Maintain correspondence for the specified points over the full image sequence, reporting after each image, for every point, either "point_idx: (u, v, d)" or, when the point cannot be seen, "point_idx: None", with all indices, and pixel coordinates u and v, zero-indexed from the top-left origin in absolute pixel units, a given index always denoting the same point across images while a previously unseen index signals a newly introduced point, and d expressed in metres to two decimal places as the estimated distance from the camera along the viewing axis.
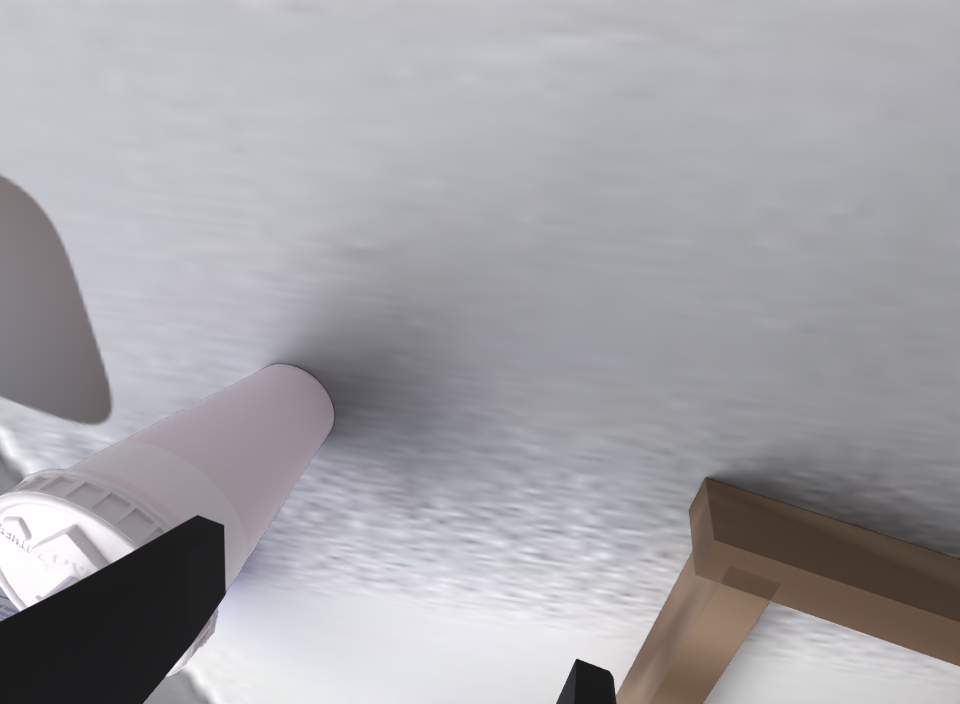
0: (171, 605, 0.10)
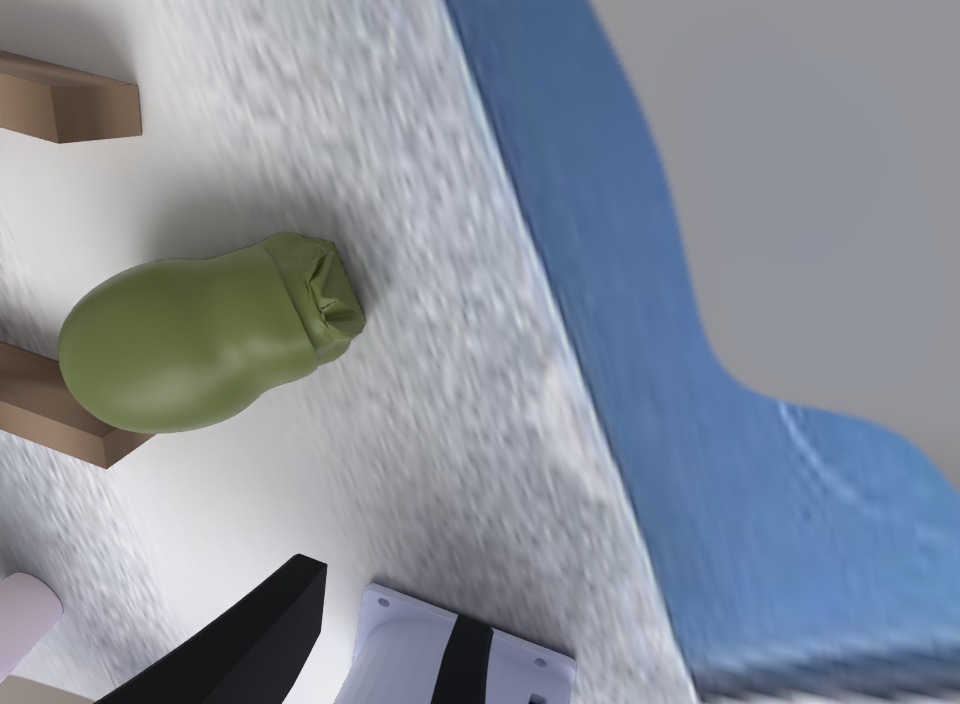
0: (282, 650, 0.10)
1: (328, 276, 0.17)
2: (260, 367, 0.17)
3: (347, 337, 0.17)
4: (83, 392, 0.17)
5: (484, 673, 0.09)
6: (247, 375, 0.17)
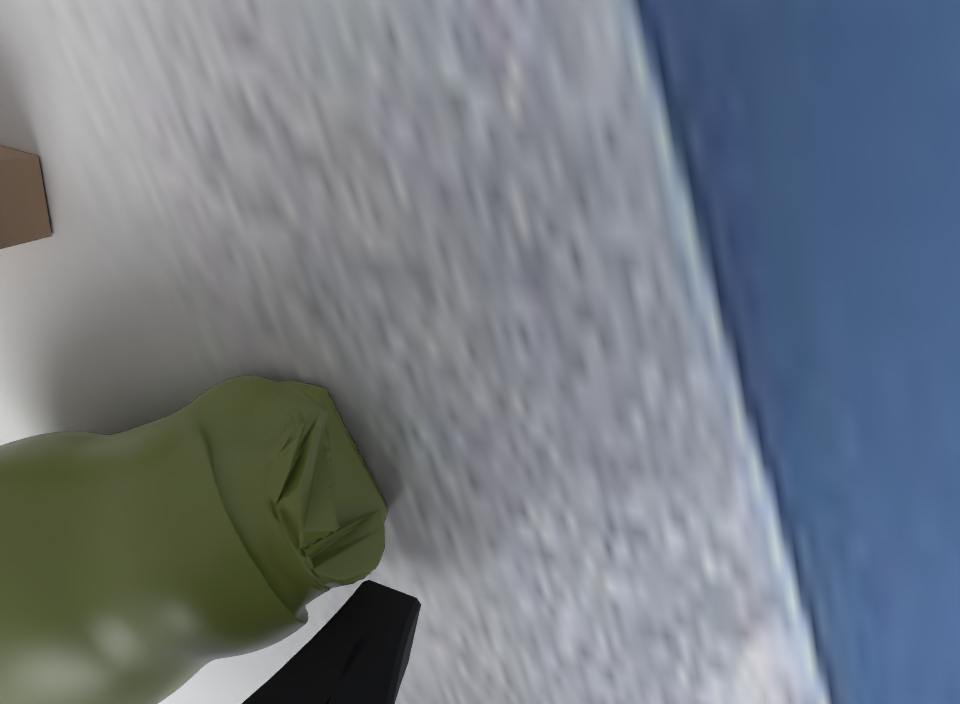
0: None
1: (316, 473, 0.09)
2: (195, 655, 0.09)
3: (357, 580, 0.09)
4: None
5: (403, 641, 0.09)
6: (173, 664, 0.09)
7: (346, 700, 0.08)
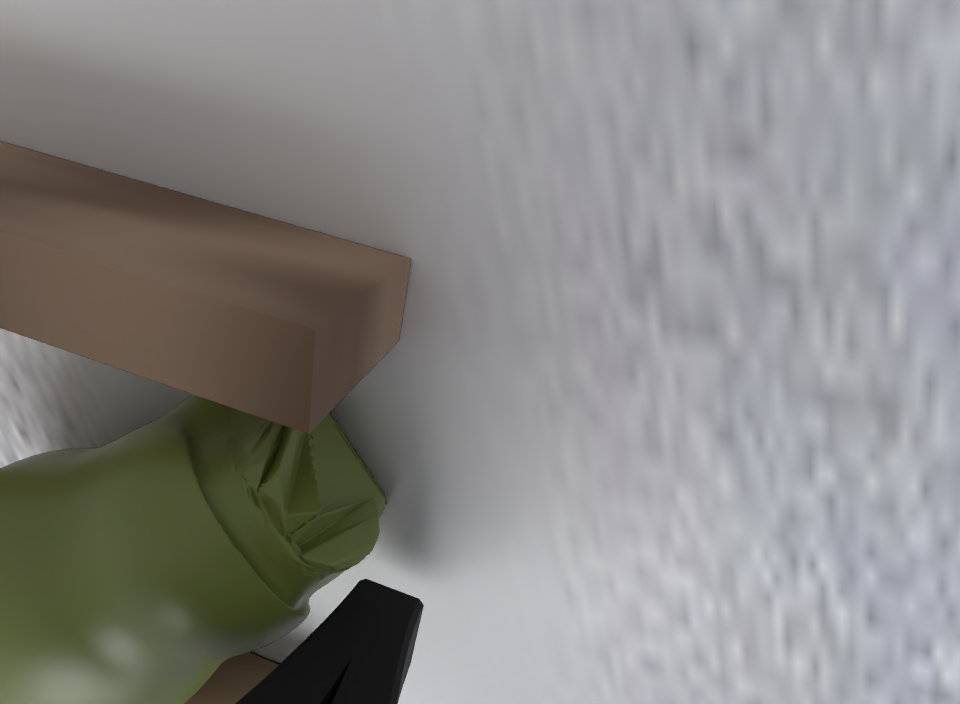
0: None
1: (298, 460, 0.09)
2: (195, 655, 0.09)
3: (350, 566, 0.09)
4: None
5: (406, 642, 0.09)
6: (176, 667, 0.09)
7: (349, 701, 0.08)
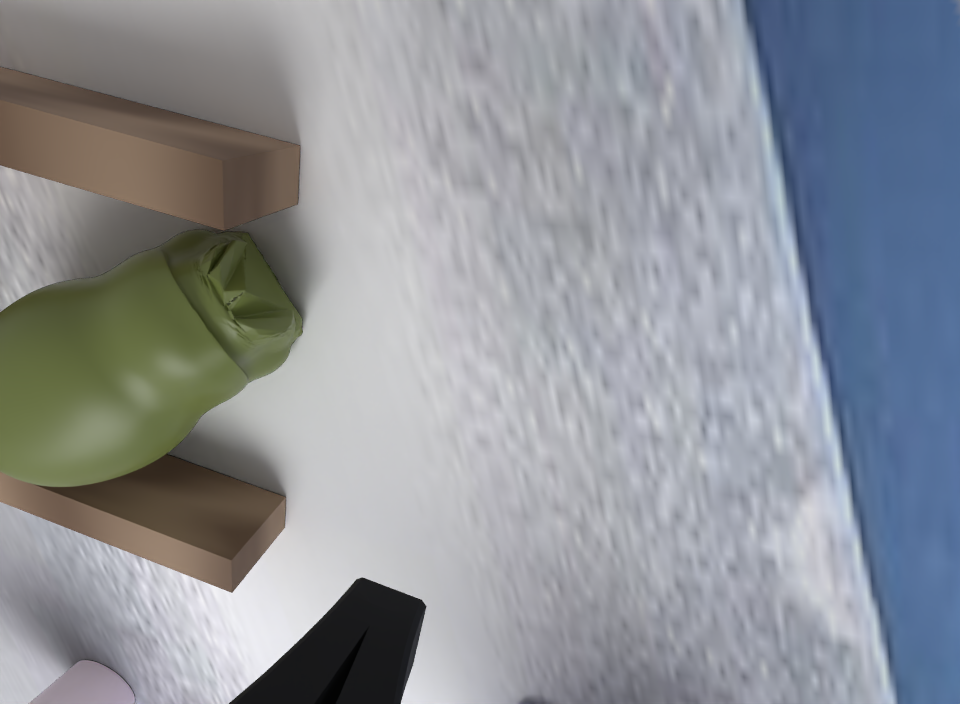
0: None
1: (235, 267, 0.14)
2: (170, 387, 0.14)
3: (269, 336, 0.14)
4: None
5: (409, 643, 0.09)
6: (159, 400, 0.14)
7: (353, 703, 0.08)
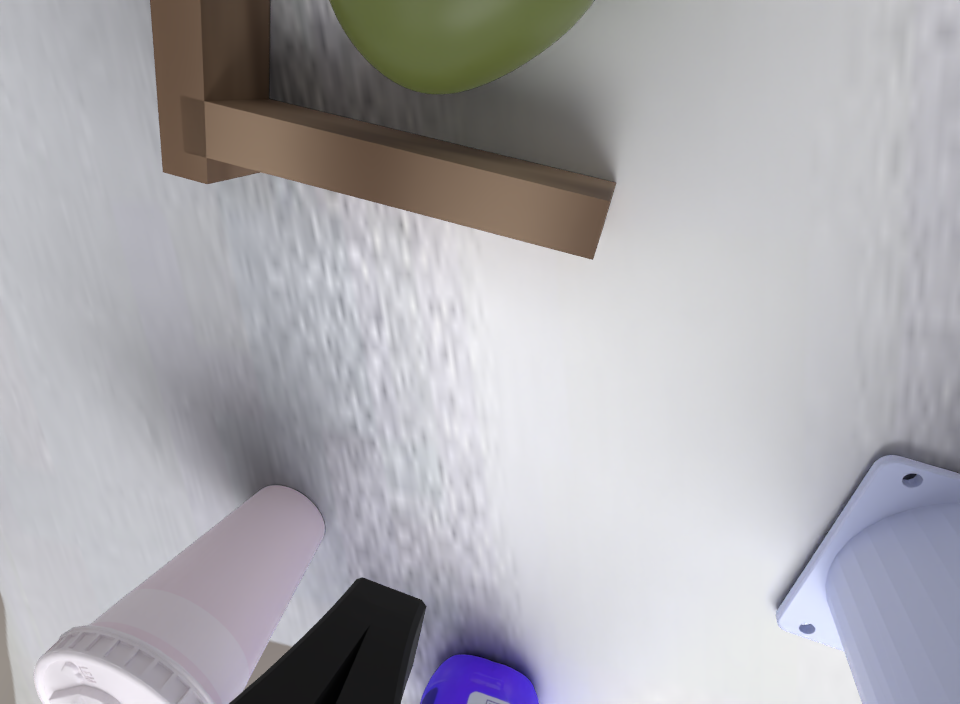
0: None
1: None
2: None
3: None
4: None
5: (409, 643, 0.09)
6: None
7: (353, 703, 0.08)
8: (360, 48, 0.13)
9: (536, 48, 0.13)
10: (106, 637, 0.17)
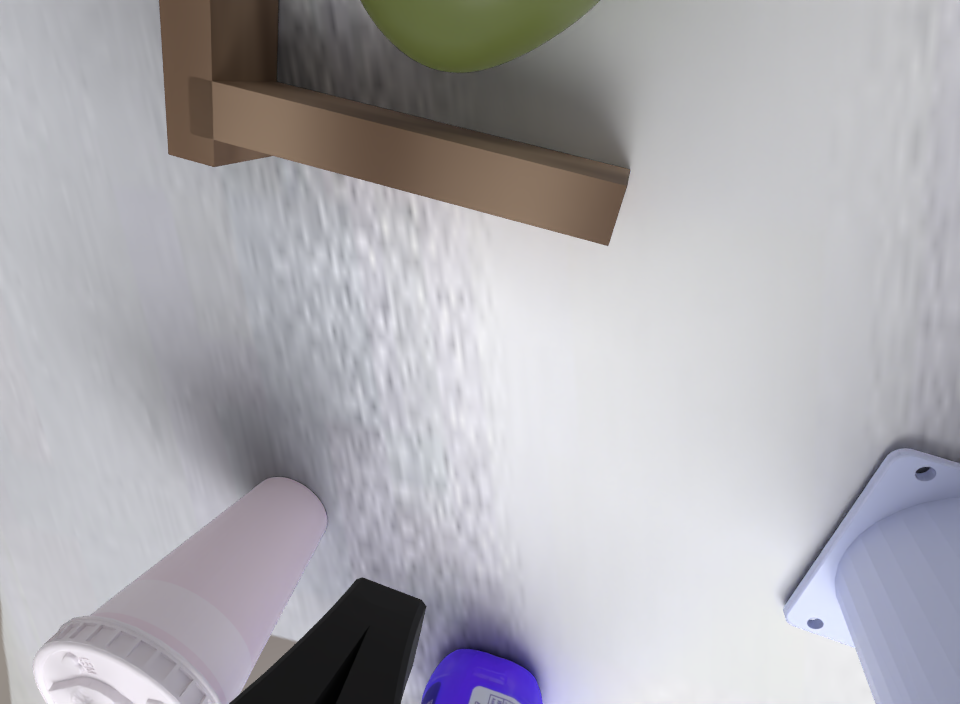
0: None
1: None
2: None
3: None
4: None
5: (408, 643, 0.09)
6: None
7: (352, 703, 0.08)
8: (380, 22, 0.13)
9: (561, 24, 0.12)
10: (107, 628, 0.17)
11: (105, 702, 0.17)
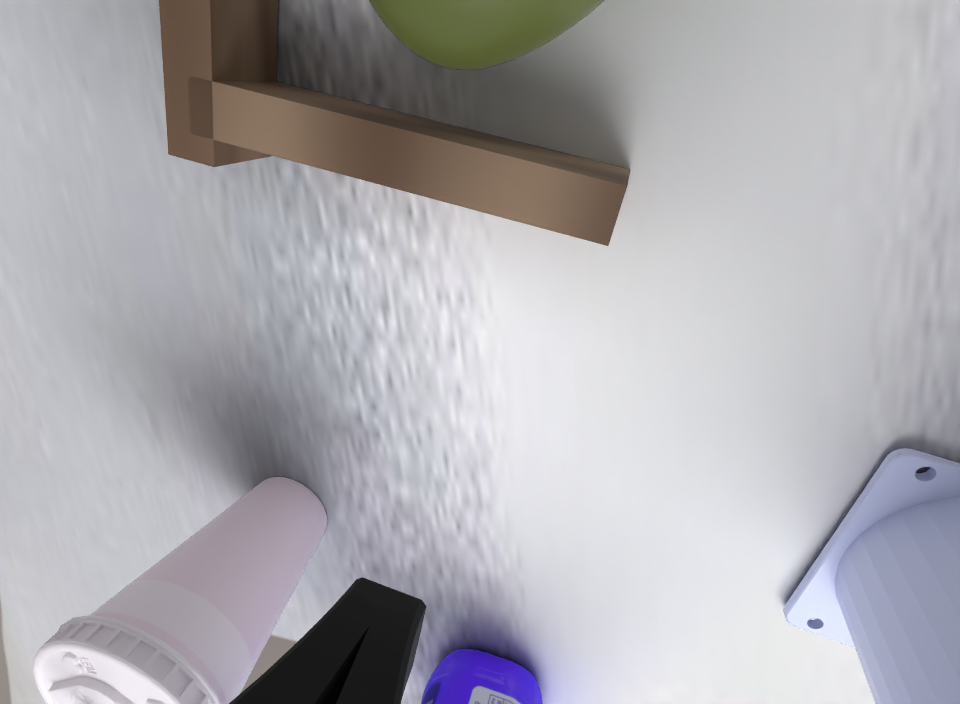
0: None
1: None
2: None
3: None
4: None
5: (408, 643, 0.09)
6: None
7: (352, 703, 0.08)
8: (387, 19, 0.12)
9: (569, 20, 0.12)
10: (107, 627, 0.17)
11: (105, 702, 0.17)
